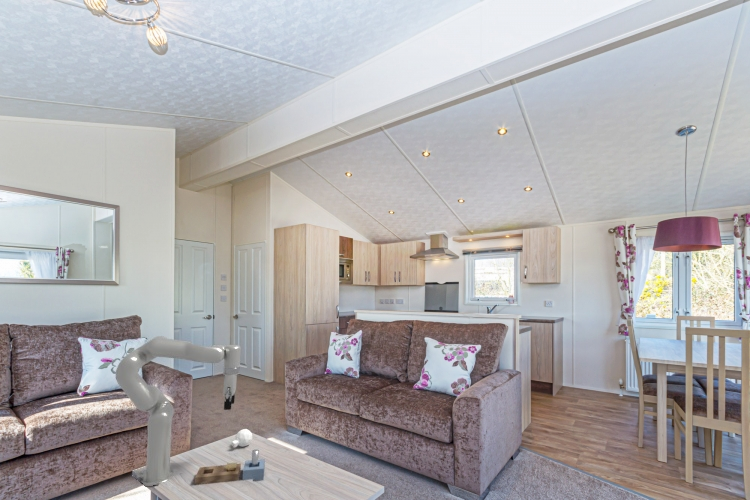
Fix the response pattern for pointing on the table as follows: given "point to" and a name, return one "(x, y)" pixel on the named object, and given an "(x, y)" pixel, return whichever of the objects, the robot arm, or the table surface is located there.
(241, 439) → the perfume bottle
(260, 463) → the blue square hole block
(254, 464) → the steel peg
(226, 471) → the socket block
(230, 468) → the key
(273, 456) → the table surface
